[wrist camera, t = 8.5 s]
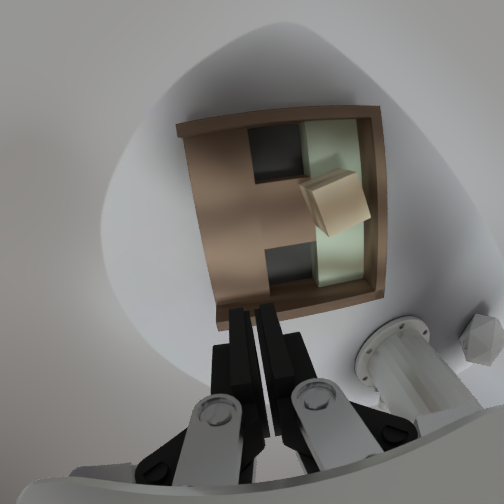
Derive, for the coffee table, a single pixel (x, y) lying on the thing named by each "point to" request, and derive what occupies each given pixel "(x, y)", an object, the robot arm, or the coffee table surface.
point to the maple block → (335, 200)
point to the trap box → (286, 208)
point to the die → (482, 340)
